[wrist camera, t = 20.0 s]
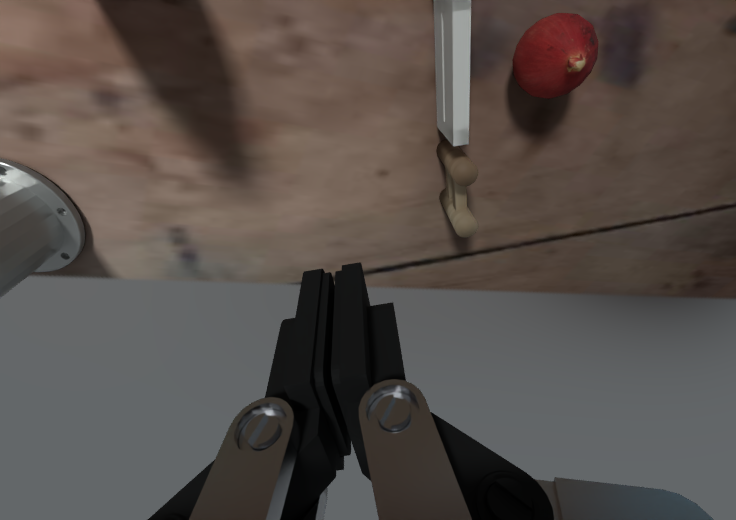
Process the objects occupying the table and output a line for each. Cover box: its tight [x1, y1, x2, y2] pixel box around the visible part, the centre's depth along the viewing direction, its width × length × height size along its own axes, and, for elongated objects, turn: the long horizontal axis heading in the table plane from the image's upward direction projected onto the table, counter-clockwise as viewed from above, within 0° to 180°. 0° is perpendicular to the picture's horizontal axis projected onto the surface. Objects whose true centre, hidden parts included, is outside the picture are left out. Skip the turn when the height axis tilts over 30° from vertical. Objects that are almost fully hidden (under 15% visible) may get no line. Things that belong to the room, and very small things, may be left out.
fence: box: [436, 139, 478, 238], centre depth 30 cm, size 2×24×7 cm, turn 9°
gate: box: [433, 0, 471, 146], centre depth 29 cm, size 10×1×6 cm, turn 8°
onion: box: [513, 13, 598, 99], centre depth 28 cm, size 6×6×8 cm
